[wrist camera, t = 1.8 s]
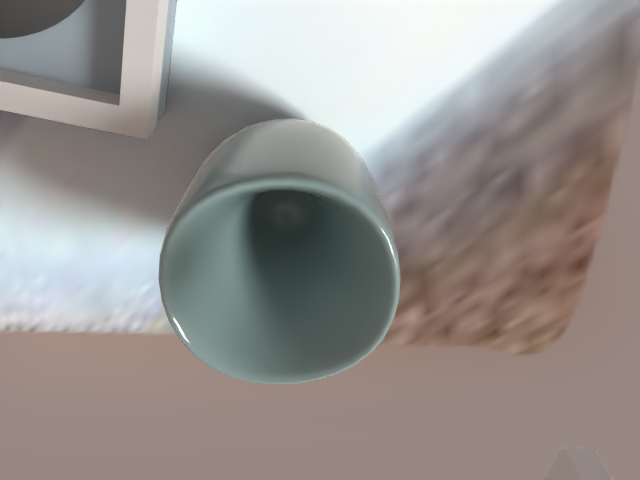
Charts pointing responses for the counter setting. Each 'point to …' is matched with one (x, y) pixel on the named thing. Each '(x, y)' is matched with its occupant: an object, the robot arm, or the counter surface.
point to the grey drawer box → (87, 62)
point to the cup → (280, 256)
